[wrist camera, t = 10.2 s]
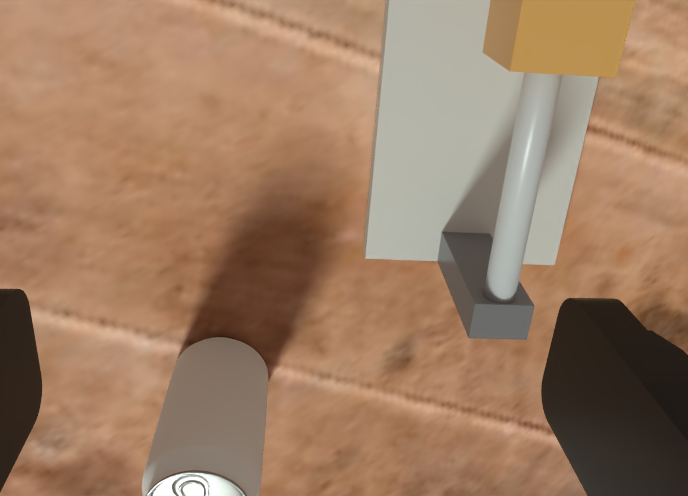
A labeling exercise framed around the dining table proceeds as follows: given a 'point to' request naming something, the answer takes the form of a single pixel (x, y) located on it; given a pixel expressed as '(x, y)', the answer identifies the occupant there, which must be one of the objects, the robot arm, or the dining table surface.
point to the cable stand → (470, 160)
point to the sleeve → (558, 35)
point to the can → (211, 424)
